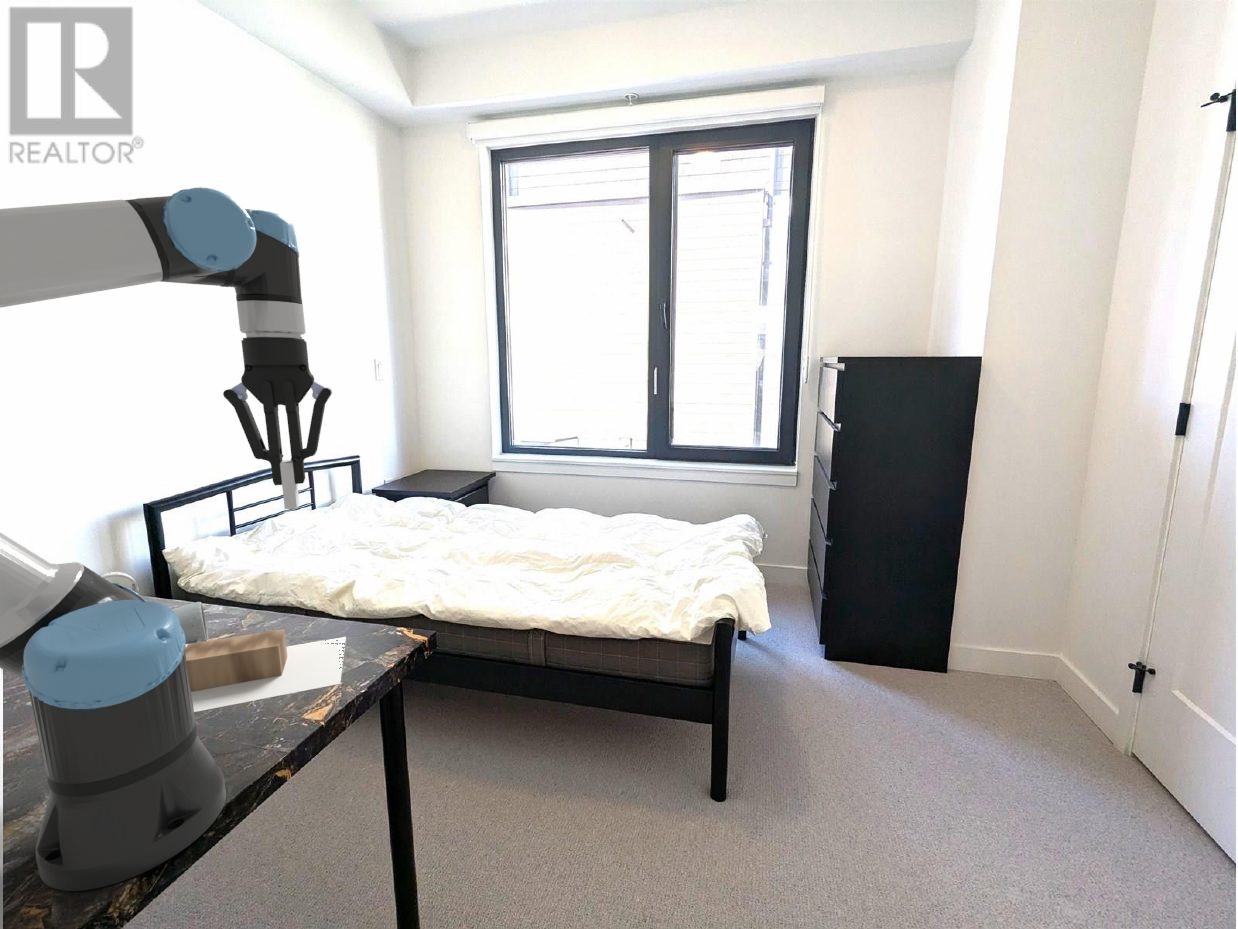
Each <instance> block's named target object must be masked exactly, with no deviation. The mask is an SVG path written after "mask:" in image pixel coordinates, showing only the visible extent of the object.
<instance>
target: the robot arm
mask: <svg viewBox="0 0 1238 929" xmlns="http://www.w3.org/2000/svg"><path fill="white" fill-rule="evenodd" d="M297 241H298V240H297V236H296V231H295V227H294V224H293V223H292V221H291V219H289V218H287V217H286V216H284V215H283V214H282V215H281V214H279V213H276V212H272V211H267V210H260V209H251V208H248V209H247V208H244V207H243V205H241V204H240V203H239V202H238V201H237V200H235V199H234V198H233V197H231V196H230V195H228V194H226V193H225V192H222V191H219V190H216V189H213V188H209V187H192V188H185V189H181V190H179V191H177V192H174V193H173V194H171V195H167V196H166V195H165V196H154V197H152V196H151V197H142V198H141V197H140V198H133V199H113V200H99V201H85V202H73V203H62V204H49V205H48V204H46V205H34V206H24V207H23V206H22V207H9V208H0V308H7V307H12V306H19V305H24V304H31V303H35V302H43V301H49V300H54V299H55V300H56V299H60V298H66V297H67V298H68V297H75V296H80V295H84V294H91V293H96V292H103V291H109V290H114V289H121V288H128V287H133V286H139V285H144V284H151V283H158V282H162V283H174V284H175V283H176V284H188V285H203V286H215V287H217V286H219V287H221V288H222V287H223V288H234V291H235V298H236V299H235V300H236V306H237V308H236V309H237V315H238V317H237V318H238V326H239V331H240V332H241V334H245V336H246V337H243V338H242V340H240V341H241V348H242V358H243V366H244V370H243V373H242V375H241V377H240V380H241V381H240V383H238V384H236V385H235V386H232V387H231V388H228V389H225V390H224V391H223V392H222V394H223V397H224V398H225V399H226V401H228V403H230V404H231V406H232V407H233V408H234V410H235V413H236V415H237V417H238V421H239V423H240V426H241V428H242V430H243V433H244V435H245V437H246V441H247V442H248V445H249V447H250V450H251V452H252V454H253V457H254V459H256V460H262V461H267V462H268V463H269V464H270V466H271V477H272V482H273V484H274V486H282V493H283V494H282V495H283V496H282V497H283V503H284V505H283V506H284V510H291V509H293V510H295V509H298V507H299V506H300V496H299V487H298V486H299V485H300V484H304V483H305V481H306V471H305V470H306V468H305V463H304V462H305V459H307V458H310V457H313V456H315V455H316V454H317V452H318V447H319V443H320V442H319V441H320V436H321V430H322V426H323V419H324V413H325V407H326V404H327V402H328V400H329V399H330V397H331V396H332V394H333V390H332V388H330V387H329V386H327V387H325V386H324V385H322V384H320V383H318V382H317V381H315V377H314V375H313V373H312V372H311V370H310V364H309V355H308V345H307V341H306V339H305V338H302V336H303V335H305V334H306V325H305V315H304V314H305V313H304V304H303V299H302V285H301V284H302V283H301V275H300V274H301V273H300V272H301V271H300V259H299V258H300V252H299V249H298V242H297ZM310 390H312V394H311V396H312V398H313V399H315V401H314V404H313V407H312V408H313V409H312V413H311V418H310V424H309V432H308V436H307V441H306V447H303V439H302V438H303V437H302V427H301V418H300V405H299V404H300V403H301V402H302V401H303V400H304V398H305V397H306V395H307V394H308V392H309V391H310ZM247 391H249V392H250V394H251V395H252V396H253V397H254V398H255V399H256V400H257V401H258V402H259V403H260V404H261V405H262V407H263V413H264V419H265V428H266V429H265V430H266V436H267V446H268V449H267V447H266V445H265V442H264V440H263V437H262V435H261V432H260V431H259V430H260V429H259V428H258V425H257V423H256V420H255V417H254V415H253V412H252V410H251V407H250V405H249V403H248V402H247V400H248V398H249V395H248V393H247ZM279 406H284V407H285V412H286V421H287V428H288V437H289V447H290V456H291V457H290V459H284V460H283V458H284V454H283V449H282V448H283V447H282V446H283V445H282V436H281V428H280V418H279ZM298 484H299V485H298ZM172 609H173V608H171V607H168V605H166V604H163V603H161V602H157V601H154V600H148V601H146V599H144V598H143V597H142V596H141V595H140V594H139V593H138V594H137V593H136V592H134V591H133V590H132V588H129V587H127V586H125V585H121V584H120V583H117V582H112V581H109V580H107V578H105V579H104V578H103V577H101V576H100V574H98V573H96V572H95V571H93V570H92V569H90V568H88V567H87V566H85V565H84V564H83V563H80V562H78V561H77V562H75V561H74V562H65V563H50V562H49V561H48V560H45V559H44V558H42V557H41V556H39V555H38V554H36V553H34V552H33V551H31V550H30V549H28V548H26V547H24V546H23V545H21V544H20V543H18V542H17V541H15V540H14V539H12V538H10V537H8V536H7V535H6V534H3V533H2V532H0V669H2V670H3V671H6V672H7V673H10V674H12V675H14V676H16V677H17V678H20V679H21V680H23V683H24V686H25V688H26V689H27V691H28V695H29V699H30V703H31V708H32V713H33V717H34V721H35V722H34V723H35V726H36V732H37V736H38V740H39V746H40V751H41V754H42V755H41V756H42V761H43V764H44V770H45V775H46V779H47V783H48V784H47V785H48V788H49V794H48V797H47V798H48V799H47V802H46V805H45V809H44V810H45V811H44V814H43V818H42V821H41V825H40V830H39V833H38V837H37V841H36V845H35V859H36V860H35V861H36V864H37V869H38V874H39V878H40V879H41V881H42V883H44V884H45V885H46V886H48V887H50V888H52V889H55V890H59V891H65V892H66V891H67V892H79V891H88V890H95V889H96V890H97V889H99V888H104V887H109V886H111V885H115V884H118V883H121V882H123V881H127V880H129V879H132V878H134V877H136V876H139V875H141V874H144V873H145V872H147V871H150V870H151V869H154V868H156V867H157V866H159V865H161V864H163V863H165V862H167V861H168V860H170V859H172V858H173V857H174V856H176V855H178V854H179V853H181V852H182V851H183V850H185V849H187V848H188V847H189V846H191V845H192V844H193V843H194V842H195V841H196V840H197V839H199V838H200V837H201V836H202V835H203V834H204V833H205V832H206V831H207V830H208V829H209V828H210V827H211V826H212V825H213V823H214V822H215V821H216V819H217V818H218V817H219V815H221V812H222V810H223V809H224V805H225V803H226V800H227V791H226V783H225V776H224V773H223V771H222V769H221V767H220V766H219V765H218V763H217V762H216V761H215V760H216V759H214V758H213V756H212V755H211V753H210V751H208V750H209V749H207V748H206V746H205V745H204V743H203V742H202V741H201V739H200V738H199V736H198V729H197V723H196V717H195V712H194V709H193V702H192V695H191V689H190V682H189V675H188V668H187V661H186V655H185V648H186V640H185V634H184V631H183V629H182V627H181V625H180V621H179V618H178V616H177V615H176V613H175V612H174V611H173V610H172Z"/></svg>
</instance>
